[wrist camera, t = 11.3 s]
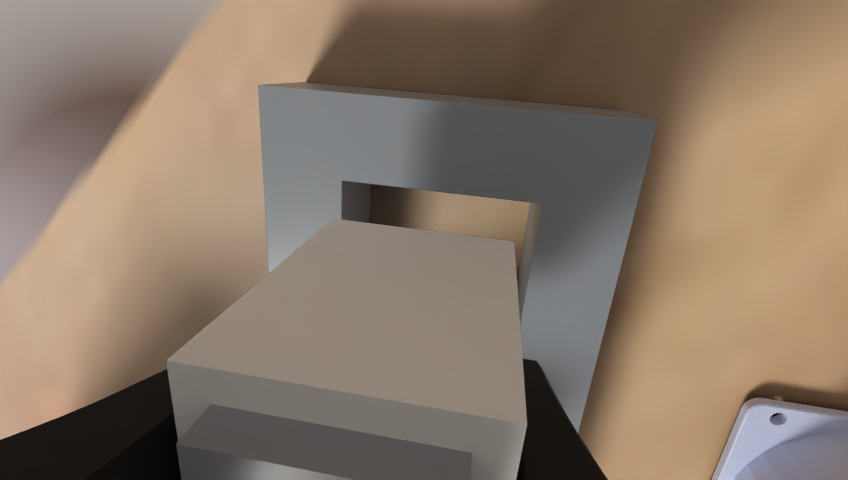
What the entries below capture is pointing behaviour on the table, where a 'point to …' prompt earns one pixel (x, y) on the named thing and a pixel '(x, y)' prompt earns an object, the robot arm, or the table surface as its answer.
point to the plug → (360, 364)
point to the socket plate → (472, 192)
